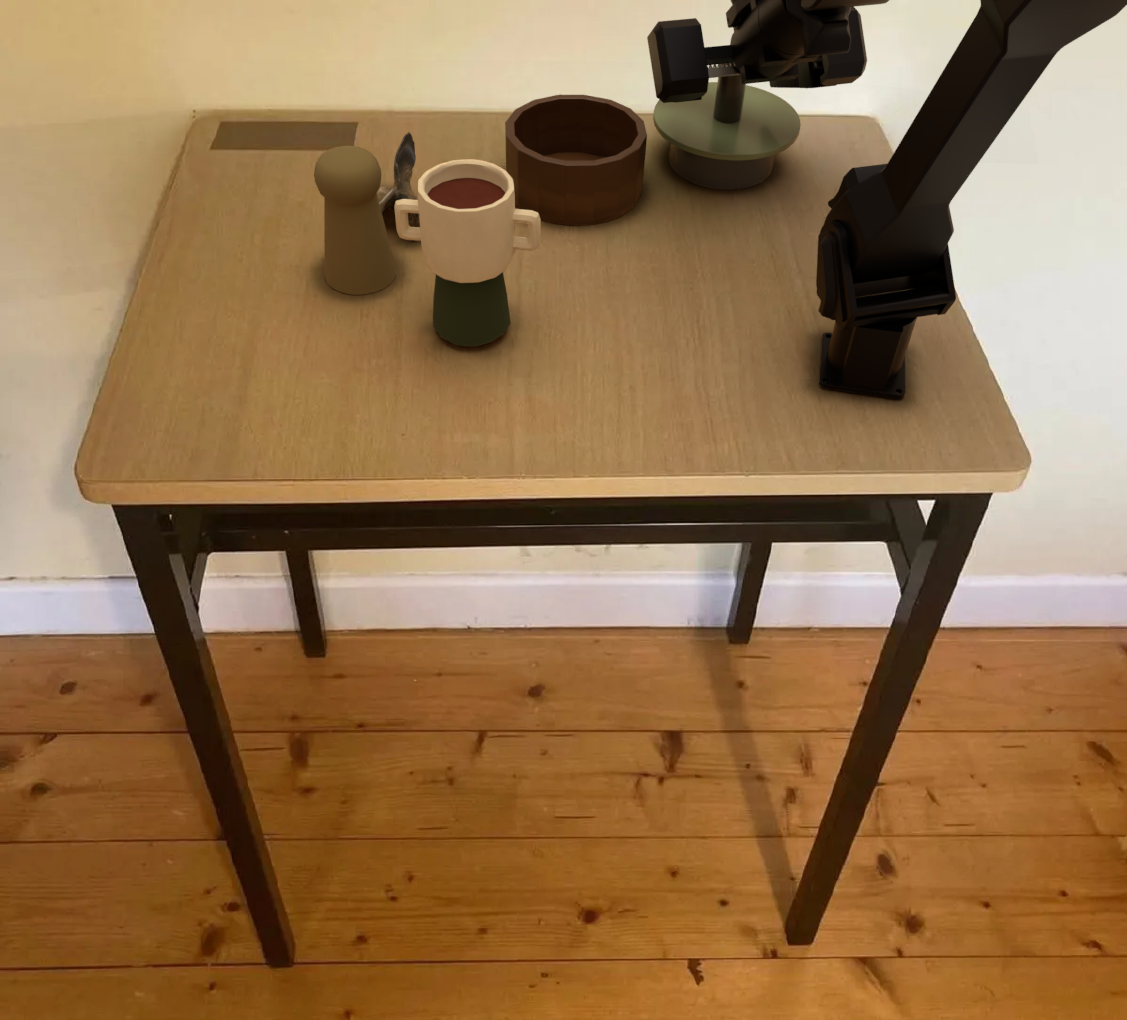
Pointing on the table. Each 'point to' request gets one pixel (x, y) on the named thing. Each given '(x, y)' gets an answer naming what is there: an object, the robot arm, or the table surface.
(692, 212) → the table surface
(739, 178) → the disc
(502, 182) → the character mug
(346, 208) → the brown pawn
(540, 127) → the brown round pot
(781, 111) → the lid
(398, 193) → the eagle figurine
